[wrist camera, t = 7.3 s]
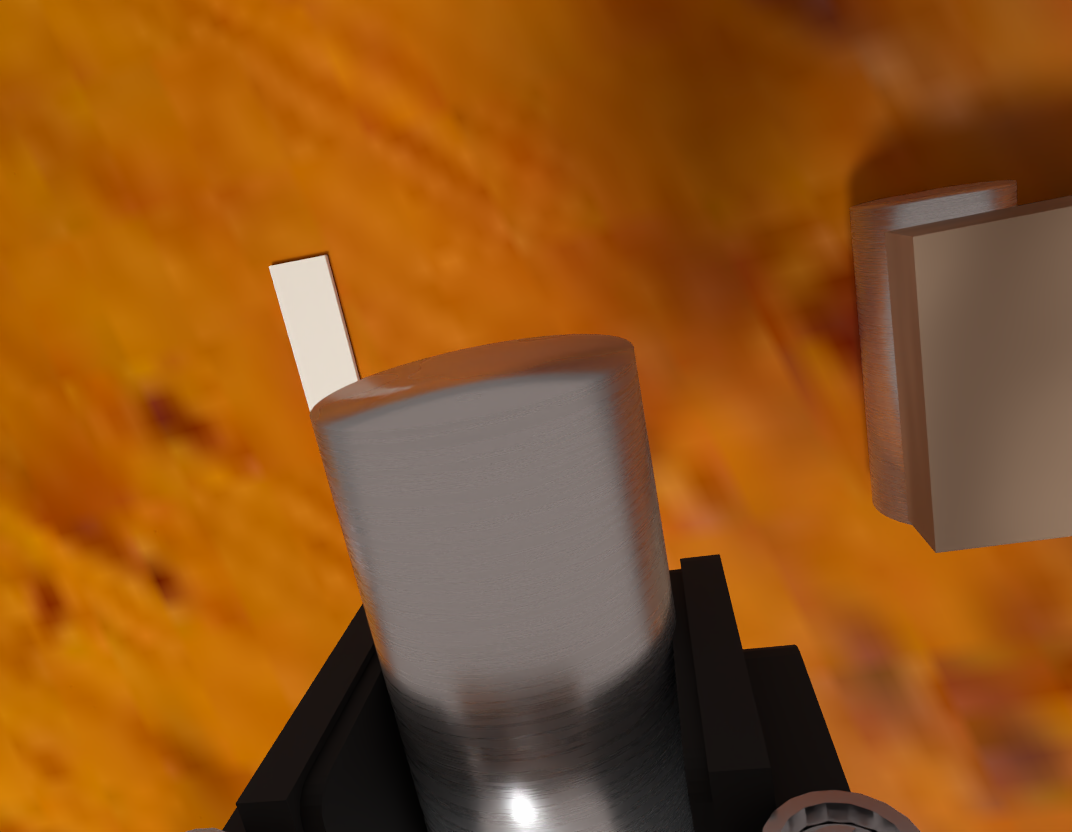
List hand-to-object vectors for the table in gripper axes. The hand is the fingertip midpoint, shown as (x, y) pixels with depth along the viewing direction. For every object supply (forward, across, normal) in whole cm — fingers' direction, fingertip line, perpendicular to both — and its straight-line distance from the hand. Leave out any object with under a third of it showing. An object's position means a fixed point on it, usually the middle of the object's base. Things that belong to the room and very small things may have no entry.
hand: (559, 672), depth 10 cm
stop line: (+15, +9, 0) cm, 18 cm away
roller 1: (0, -1, 0) cm, 1 cm away
